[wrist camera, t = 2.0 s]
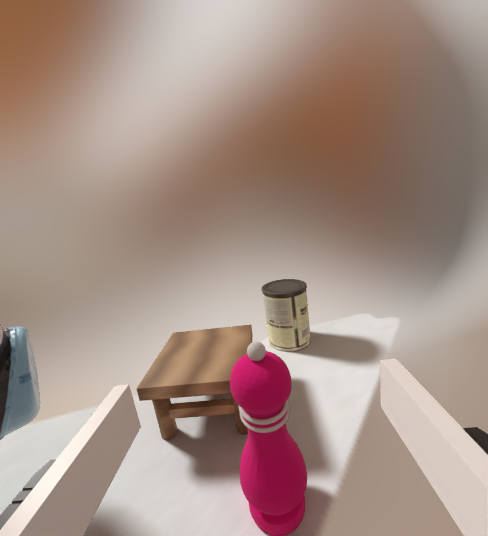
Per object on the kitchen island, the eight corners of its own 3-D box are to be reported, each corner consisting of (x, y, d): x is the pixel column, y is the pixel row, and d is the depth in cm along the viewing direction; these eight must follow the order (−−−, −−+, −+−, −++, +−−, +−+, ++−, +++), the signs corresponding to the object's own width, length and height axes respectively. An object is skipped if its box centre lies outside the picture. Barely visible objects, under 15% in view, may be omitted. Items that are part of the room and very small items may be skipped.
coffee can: (273, 328, 67) (267, 279, 64) (312, 330, 63) (308, 278, 60) (263, 350, 57) (256, 293, 54) (309, 353, 54) (304, 293, 51)
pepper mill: (319, 538, 24) (303, 360, 20) (246, 548, 24) (214, 372, 20) (300, 464, 31) (285, 321, 27) (244, 472, 31) (219, 330, 27)
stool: (152, 445, 37) (136, 388, 35) (182, 375, 52) (173, 332, 50) (258, 438, 36) (249, 378, 33) (257, 368, 51) (251, 324, 49)
